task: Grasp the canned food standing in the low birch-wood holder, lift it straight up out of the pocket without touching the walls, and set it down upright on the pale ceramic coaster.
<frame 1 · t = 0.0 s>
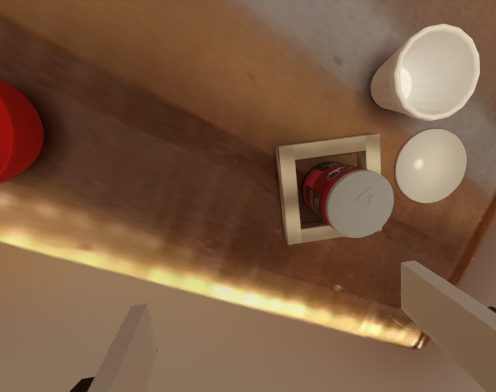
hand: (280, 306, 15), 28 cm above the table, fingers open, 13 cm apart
coaster: (428, 166, 44), on the table
holder: (326, 187, 43), on the table
cup: (389, 86, 41), on the table
ceramic cup: (0, 118, 37), on the table
canned food: (325, 187, 43), resting in holder
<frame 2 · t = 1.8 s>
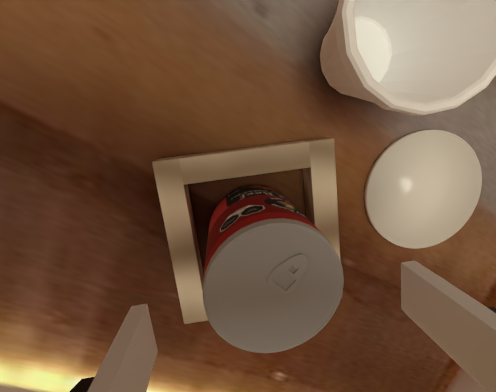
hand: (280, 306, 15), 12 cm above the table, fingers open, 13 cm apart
coaster: (420, 190, 27), on the table
holder: (252, 226, 26), on the table
cup: (354, 57, 24), on the table
canned food: (251, 225, 26), resting in holder
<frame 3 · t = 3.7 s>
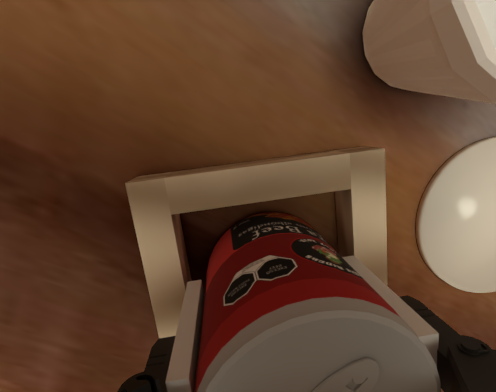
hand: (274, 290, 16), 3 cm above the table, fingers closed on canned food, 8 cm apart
coaster: (490, 216, 20), on the table
holder: (265, 265, 19), on the table
cup: (407, 36, 17), on the table
canned food: (265, 263, 20), resting in holder, touching gripper
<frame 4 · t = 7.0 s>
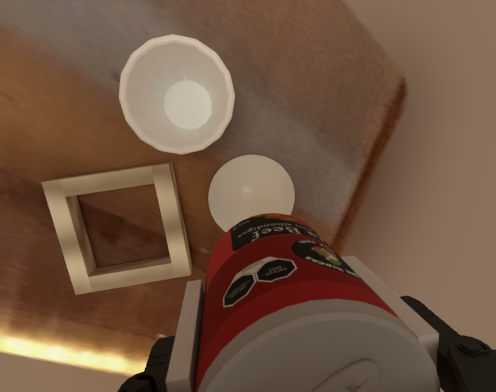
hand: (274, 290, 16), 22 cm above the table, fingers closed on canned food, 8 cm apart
coaster: (251, 197, 37), on the table
holder: (127, 224, 36), on the table
cup: (188, 106, 34), on the table
canned food: (265, 264, 20), point 18 cm above the table, touching gripper
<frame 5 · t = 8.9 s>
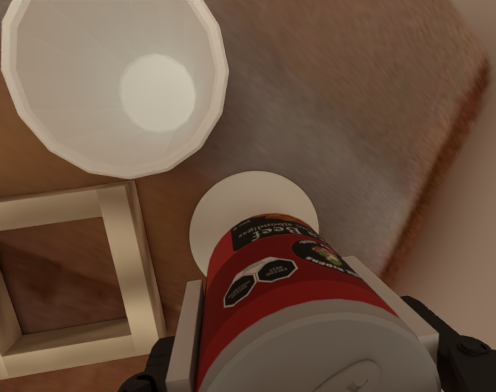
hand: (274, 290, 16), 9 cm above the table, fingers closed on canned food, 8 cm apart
coaster: (254, 233, 25), on the table
holder: (67, 273, 24), on the table
cup: (159, 95, 22), on the table
canned food: (265, 264, 20), point 6 cm above the table, touching gripper
when the fingers open (5 cm above the table, at t = 10.4 s): canned food drops 1 cm, resting on coaster.
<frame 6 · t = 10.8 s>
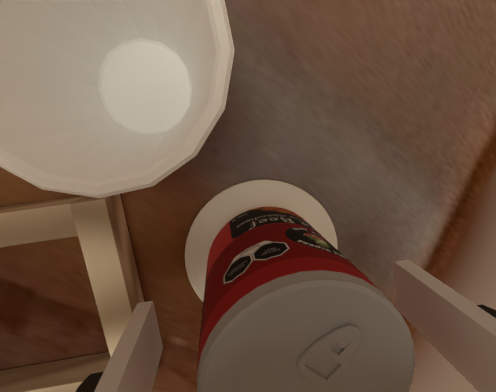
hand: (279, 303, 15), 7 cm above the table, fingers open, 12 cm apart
coaster: (261, 253, 21), on the table
holder: (40, 300, 20), on the table
cup: (149, 89, 18), on the table
canned food: (262, 255, 21), resting on coaster
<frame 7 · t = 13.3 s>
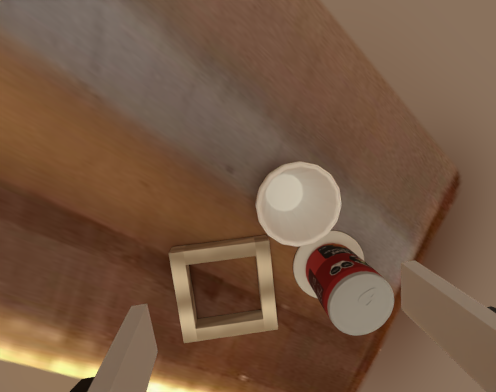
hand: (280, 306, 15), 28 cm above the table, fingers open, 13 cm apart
coaster: (328, 264, 45), on the table
holder: (225, 284, 44), on the table
cup: (283, 191, 42), on the table
canned food: (328, 265, 44), resting on coaster
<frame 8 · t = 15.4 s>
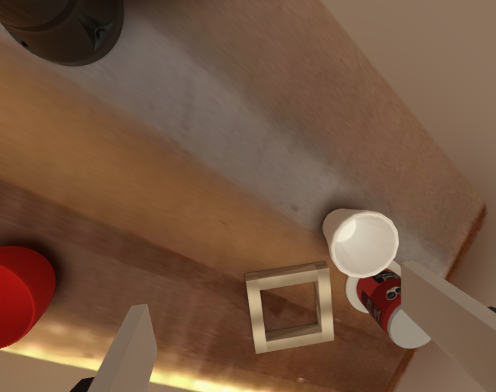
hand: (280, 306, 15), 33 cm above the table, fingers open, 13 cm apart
coaster: (374, 284, 53), on the table
holder: (288, 303, 52), on the table
cup: (338, 225, 50), on the table
ceramic cup: (20, 262, 46), on the table
canned food: (375, 285, 52), resting on coaster
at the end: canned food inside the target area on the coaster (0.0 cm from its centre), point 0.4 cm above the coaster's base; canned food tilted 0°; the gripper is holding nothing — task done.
